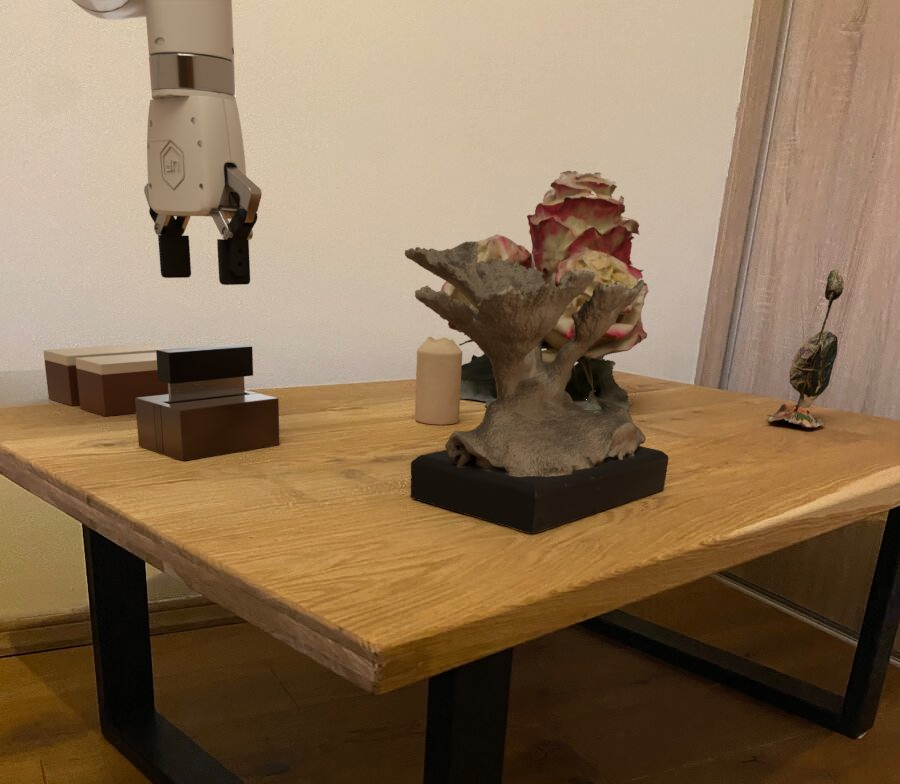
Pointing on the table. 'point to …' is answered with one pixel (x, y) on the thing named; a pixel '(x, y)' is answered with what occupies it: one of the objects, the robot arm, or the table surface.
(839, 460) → the table surface
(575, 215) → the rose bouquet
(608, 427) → the coral
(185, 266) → the robot arm
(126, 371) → the wooden blocks
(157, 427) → the brown wooden slotted box
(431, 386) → the candle
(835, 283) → the plant with pod
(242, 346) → the dark piece
